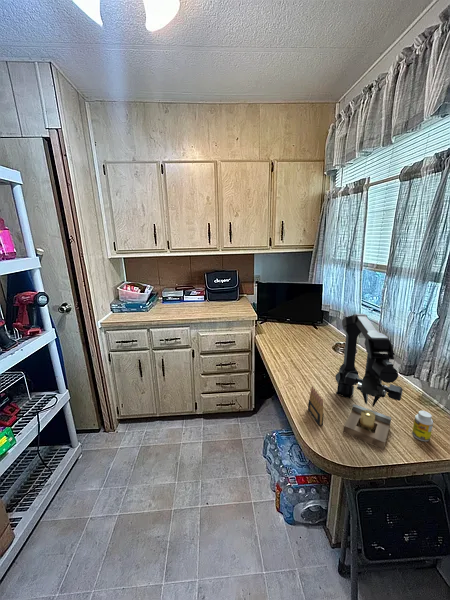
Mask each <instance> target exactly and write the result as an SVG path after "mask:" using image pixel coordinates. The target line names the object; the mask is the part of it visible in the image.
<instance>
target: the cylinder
mask: <svg viewBox="0 0 450 600" xmlns="http://www.w3.org/2000/svg"><path fill="white" fill-rule="evenodd" d="M374 422H375V414H374V413H373V412H371V411H368V410H363V411H362V412H361V419H360V424H359V427H360V428H363V429H365V430H367V431H370V432H372V433H374Z"/></svg>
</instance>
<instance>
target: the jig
mask: <svg viewBox="0 0 450 600" xmlns="http://www.w3.org/2000/svg"><path fill="white" fill-rule="evenodd" d="M363 410H368V411H371V412H373V413H374V414H375V422H374V429H373V431H374V432H373V433H372V432H370V431H367V430H365V429H363V428H360V419H361V412H362V411H363ZM391 421H392V417H391V416H388V415H386V414H383V413H380V412H377V411H376V410H372V409H369V408H366V407H364V406H361V405H359V404H355V403H353V404H352V407H351V411H350V413H349V414H348V417H347V419H346V421H345V422H344V425H343V431H342V432H343V433H345V434H346V435H349V436H351V437H354V438H355V439H358V440H361V441H362V442H366V443H367V444H370V445H372V446H374V447H377V448H380V449H382V450H385V446H386V443H387V439H388V435H389V432H390V428H391V423H392V422H391Z"/></svg>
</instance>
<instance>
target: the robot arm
mask: <svg viewBox="0 0 450 600" xmlns="http://www.w3.org/2000/svg"><path fill="white" fill-rule="evenodd" d="M341 324H342V330H343V331H344V334H345V343H344V344H345V345H344V355H343V356H344V357H343V362H342V364H341V365H340V366H339V369H338V371H337V373H336V374H335V381H336V382H337V390H336V393H335V394H336V395H338V396H341V397H345V398H348V399H351V397H352V396H353V395H354V394H355V393H354V392H355V386H357V387H356V389H357V390H359V391H360V392H361V394H362V397H363V401H364V405H367V404H368V400H369V396H370V397H373V398H374V399H373V401H372V405H371V406H372V407H373V408H374V407H375V405H376V403H377V402H378V401H379V399H381V398H385V397H386V396H387V397H388V398H389V399H392V400H395V401H398V402H399V401H401V399H402V396H403V387H401V386H398V385H394V384H392V383H393V382H396V381H397V380H398V377H399V372H398V370H397V369H396V368H395V367H394V363H392V362H391V361H390V360H394V359H395V356H394V355H395V351H394V349H393V346H392V342H391V340H390V339H389V337H388V336H387V335H386V334H384V333H382V332H379V331H378V330H377V329H376V328H375V326H374V325H373V324H372V322H371V321H370V320H369V319H368V315H367V314H366V313H354V314H352V315H349V316H345V317H344V318H343V319H342V322H341ZM360 334H362V335H363V337H364V338H365V339H364V347H365V350H366V353H367V356H366V362H365V372H364V376H363V377H362V378H360V376H359V371H358V370H357V368H356V366H355V364H356V354H357V345H358V344H357V343H358V337H359V335H360ZM382 383H385V384H389V386H387V385H384V384H382ZM386 394H387V395H386Z"/></svg>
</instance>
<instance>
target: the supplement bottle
mask: <svg viewBox="0 0 450 600" xmlns="http://www.w3.org/2000/svg"><path fill="white" fill-rule="evenodd" d="M432 417H433V415H432V414H431V413H430V412H428V411H426V410H419V411H418V413H417V414H415V416H414V421H413V424H412V425H413V426H412V432H411V434H412V436H413V437H414V438H415V439H417V440H419V441H421V442H429V441H430V440H431V434H432V431H433V426H434V421H433V419H432Z"/></svg>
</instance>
